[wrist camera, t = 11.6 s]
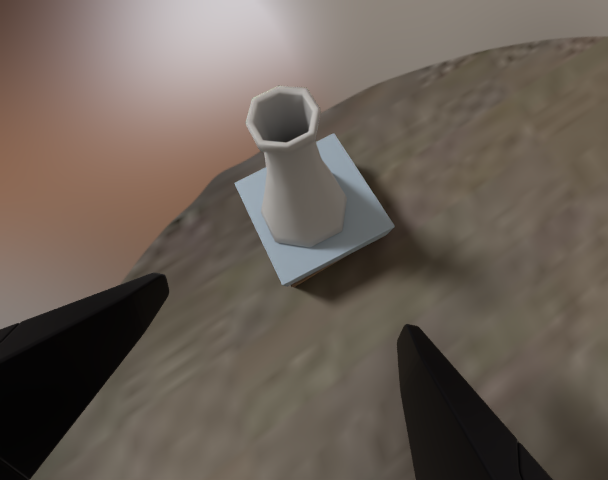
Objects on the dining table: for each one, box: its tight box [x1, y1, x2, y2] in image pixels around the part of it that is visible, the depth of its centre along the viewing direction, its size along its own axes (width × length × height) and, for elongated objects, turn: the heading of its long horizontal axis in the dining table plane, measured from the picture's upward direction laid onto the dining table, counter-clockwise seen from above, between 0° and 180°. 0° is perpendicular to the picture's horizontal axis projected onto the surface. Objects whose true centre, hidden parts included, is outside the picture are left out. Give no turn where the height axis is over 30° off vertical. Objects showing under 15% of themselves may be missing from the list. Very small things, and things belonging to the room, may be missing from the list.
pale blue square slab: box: [235, 133, 395, 287], centre depth 20 cm, size 10×10×2 cm
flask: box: [246, 86, 347, 248], centre depth 14 cm, size 7×7×10 cm
